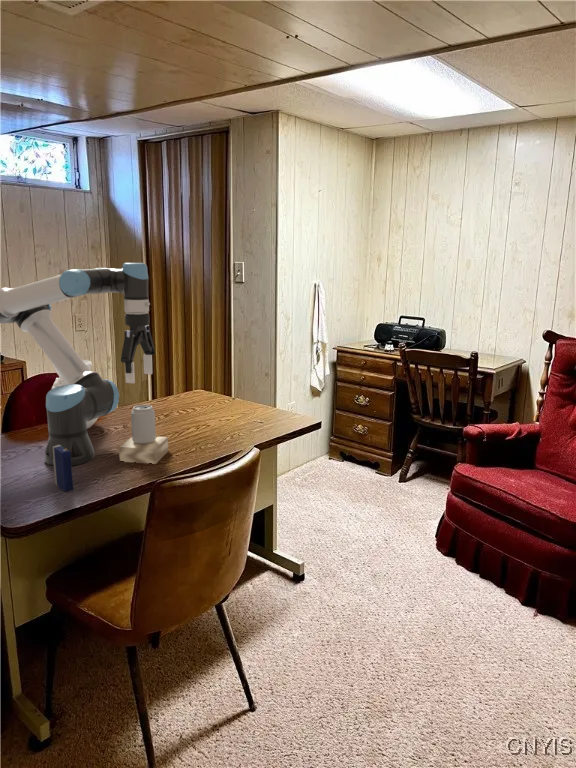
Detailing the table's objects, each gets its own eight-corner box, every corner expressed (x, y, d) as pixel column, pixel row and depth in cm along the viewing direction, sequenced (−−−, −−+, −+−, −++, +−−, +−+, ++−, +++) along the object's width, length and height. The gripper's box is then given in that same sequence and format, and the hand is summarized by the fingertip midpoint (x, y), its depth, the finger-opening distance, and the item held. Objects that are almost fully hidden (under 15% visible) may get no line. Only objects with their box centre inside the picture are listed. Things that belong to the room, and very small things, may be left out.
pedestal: (119, 461, 183) (119, 446, 182) (134, 449, 195) (133, 435, 193) (155, 463, 181) (155, 449, 180) (168, 451, 193) (167, 437, 192)
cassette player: (73, 490, 161) (70, 450, 158) (65, 492, 159) (62, 452, 157) (62, 482, 166) (59, 443, 163) (54, 484, 165) (51, 445, 162)
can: (158, 438, 190) (157, 404, 188) (151, 446, 183) (149, 410, 180) (137, 437, 191) (135, 403, 188) (128, 444, 184) (127, 409, 181)
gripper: (130, 317, 167) (133, 387, 172) (163, 309, 191) (165, 371, 196) (106, 316, 168) (110, 386, 173) (142, 308, 192) (144, 369, 197)
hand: (139, 378), depth 184 cm, fingers open, 13 cm apart
